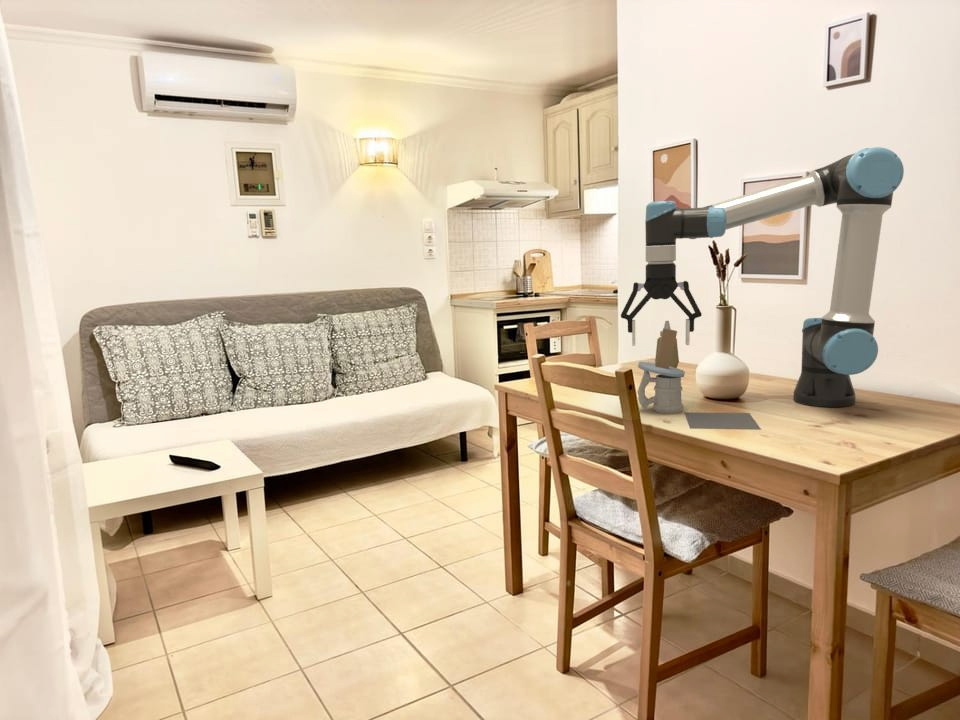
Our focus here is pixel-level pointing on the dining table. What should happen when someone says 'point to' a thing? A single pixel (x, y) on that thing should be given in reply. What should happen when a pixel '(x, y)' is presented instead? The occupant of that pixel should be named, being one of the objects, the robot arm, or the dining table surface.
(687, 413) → the mat
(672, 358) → the squeeze bottle
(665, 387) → the mug
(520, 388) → the dining table surface
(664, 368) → the lid
